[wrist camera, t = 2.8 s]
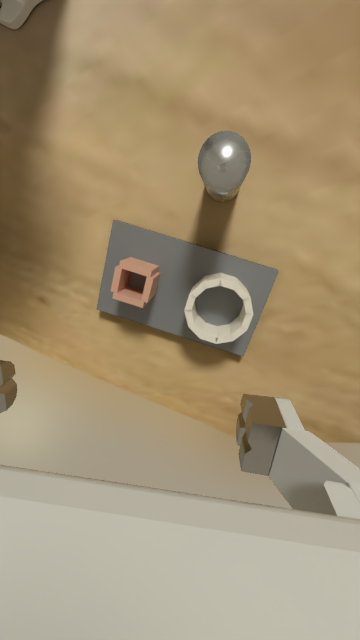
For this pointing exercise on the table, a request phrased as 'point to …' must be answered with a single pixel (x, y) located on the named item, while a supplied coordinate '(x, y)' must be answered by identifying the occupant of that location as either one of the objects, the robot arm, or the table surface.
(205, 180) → the metal peg
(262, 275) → the holder board
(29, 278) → the table surface
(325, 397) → the table surface
